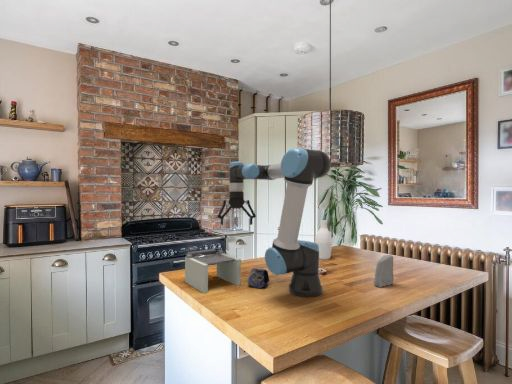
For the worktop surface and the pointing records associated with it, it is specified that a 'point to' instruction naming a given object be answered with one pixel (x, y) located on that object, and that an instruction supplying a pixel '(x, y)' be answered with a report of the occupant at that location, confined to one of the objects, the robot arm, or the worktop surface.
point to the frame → (199, 272)
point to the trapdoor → (210, 257)
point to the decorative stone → (384, 271)
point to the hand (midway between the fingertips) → (236, 231)
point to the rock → (258, 278)
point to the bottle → (324, 241)
